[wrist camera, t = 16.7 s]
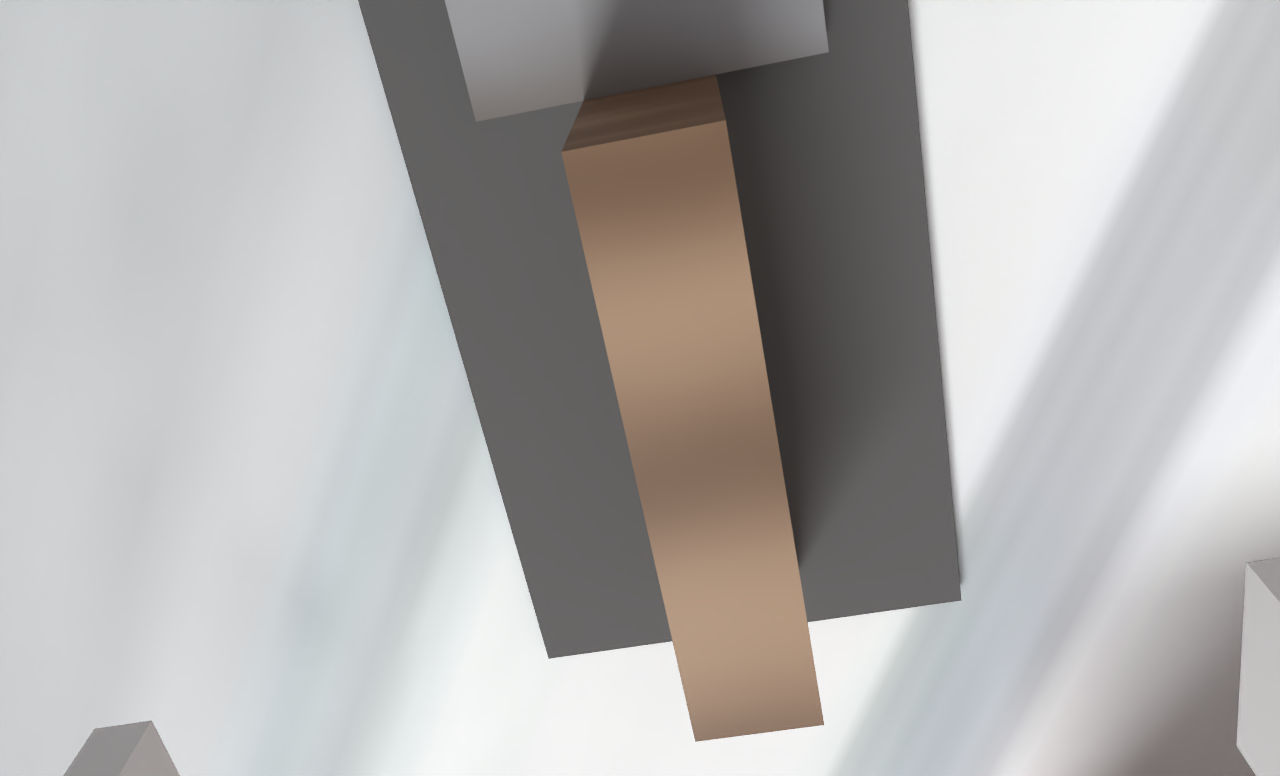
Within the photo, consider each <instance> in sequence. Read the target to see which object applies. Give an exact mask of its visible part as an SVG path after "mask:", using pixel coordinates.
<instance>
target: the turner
mask: <svg viewBox="0 0 1280 776" xmlns="http://www.w3.org/2000/svg"><path fill="white" fill-rule="evenodd" d="M445 4H446V7H447V11H448V15H449V19H450V23H451V27H452V31H453V35H454V39H455V42H456V46H457V50H458V54H459V58H460V62H461V66H462V70H463V73H464V77H465V81H466V85H467V89H468V93H469V97H470V101H471V105H472V108H473V112H474V116H475V120H476V122H478V121H483V120H488V119H493V118H498V117H503V116H508V115H513V114H518V113H523V112H528V111H533V110H538V109H543V108H549V107H554V106H559V105H564V104H569V103H574V102H579V101H583V103H582V105H581V108H580V110H579V112H578V114H577V117H576V119H575V121H574V124H573V126H572V128H571V131H570V133H569V135H568V137H567V140H566V142H565V144H564V147H563V149H562V151H561V153H562V158H563V162H564V166H565V171H566V175H567V180H568V184H569V188H570V193H571V197H572V202H573V206H574V210H575V215H576V219H577V224H578V228H579V232H580V237H581V241H582V245H583V250H584V254H585V259H586V263H587V267H588V272H589V276H590V281H591V285H592V289H593V294H594V298H595V303H596V307H597V311H598V316H599V320H600V325H601V329H602V333H603V338H604V342H605V346H606V351H607V355H608V360H609V364H610V368H611V373H612V377H613V382H614V386H615V390H616V395H617V399H618V404H619V408H620V412H621V417H622V421H623V426H624V430H625V434H626V439H627V443H628V447H629V452H630V456H631V461H632V465H633V469H634V474H635V478H636V483H637V487H638V491H639V496H640V500H641V505H642V509H643V513H644V518H645V522H646V527H647V531H648V535H649V540H650V544H651V548H652V553H653V557H654V562H655V566H656V570H657V575H658V579H659V584H660V588H661V592H662V597H663V601H664V606H665V610H666V614H667V619H668V623H669V628H670V632H671V636H672V641H673V645H674V649H675V654H676V658H677V663H678V667H679V671H680V676H681V680H682V685H683V689H684V693H685V698H686V702H687V707H688V711H689V715H690V720H691V724H692V729H693V733H694V737H695V742H696V741H703V740H711V739H719V738H726V737H734V736H742V735H750V734H757V733H765V732H773V731H780V730H788V729H796V728H803V727H811V726H819V725H824V722H823V715H822V709H821V703H820V697H819V691H818V685H817V679H816V672H815V666H814V660H813V654H812V648H811V642H810V635H809V629H808V623H807V617H806V611H805V605H804V598H803V592H802V586H801V580H800V574H799V568H798V562H797V555H796V549H795V543H794V537H793V531H792V525H791V518H790V512H789V506H788V500H787V494H786V488H785V481H784V475H783V469H782V463H781V457H780V451H779V445H778V438H777V432H776V426H775V420H774V414H773V408H772V401H771V395H770V389H769V383H768V377H767V371H766V364H765V358H764V352H763V346H762V340H761V334H760V328H759V321H758V315H757V309H756V303H755V297H754V291H753V284H752V278H751V272H750V266H749V260H748V254H747V247H746V241H745V235H744V229H743V223H742V217H741V211H740V204H739V198H738V192H737V186H736V180H735V174H734V167H733V161H732V155H731V149H730V143H729V137H728V130H727V124H726V119H725V114H724V110H723V105H722V100H721V96H720V91H719V87H718V82H717V77H716V74H721V73H726V72H731V71H736V70H741V69H746V68H751V67H756V66H761V65H766V64H771V63H776V62H782V61H787V60H792V59H797V58H802V57H807V56H812V55H817V54H822V53H827V52H829V49H828V40H827V32H826V24H825V15H824V7H823V0H445Z"/></svg>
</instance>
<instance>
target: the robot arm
mask: <svg viewBox="0 0 1280 776" xmlns="http://www.w3.org/2000/svg"><path fill="white" fill-rule="evenodd" d="M1237 747H1238V749H1239V750H1240V752H1241V753H1242V755H1243V756H1244V758H1245V760H1246V761H1247V763H1248V764H1249V766H1250V767H1251V769H1252V770H1253V772H1254V773H1255V775H1256V776H1280V558H1273V559H1266V560H1260V561H1253V562H1246V576H1245V595H1244V614H1243V633H1242V652H1241V671H1240V690H1239V709H1238V728H1237ZM64 776H180V775H179V773H178V771H177V769H176V767H175V765H174V763H173V761H172V759H171V758H170V756H169V754H168V752H167V750H166V748H165V746H164V744H163V742H162V740H161V738H160V736H159V734H158V732H157V730H156V728H155V726H154V724H153V722H152V721H146V722H139V723H132V724H125V725H118V726H111V727H104V728H97V729H94V730H93V732H92V733H91V735H90V736H89V738H88V739H87V741H86V742H85V744H84V746H83V747H82V749H81V750H80V752H79V753H78V755H77V756H76V758H75V759H74V761H73V762H72V764H71V765H70V767H69V768H68V770H67V771H66V773H65V774H64Z"/></svg>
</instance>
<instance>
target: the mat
mask: <svg viewBox="0 0 1280 776" xmlns="http://www.w3.org/2000/svg"><path fill="white" fill-rule="evenodd" d="M358 1H359V5H360V8H361V12H362V15H363V18H364V22H365V25H366V29H367V32H368V36H369V39H370V43H371V46H372V50H373V53H374V56H375V60H376V63H377V67H378V70H379V74H380V77H381V81H382V84H383V88H384V91H385V94H386V98H387V101H388V105H389V108H390V112H391V115H392V119H393V122H394V126H395V129H396V132H397V136H398V139H399V143H400V146H401V150H402V153H403V157H404V160H405V164H406V167H407V170H408V174H409V177H410V181H411V184H412V188H413V191H414V195H415V198H416V202H417V205H418V208H419V212H420V215H421V219H422V222H423V226H424V229H425V233H426V236H427V240H428V243H429V246H430V250H431V253H432V257H433V260H434V264H435V267H436V271H437V274H438V278H439V281H440V284H441V288H442V291H443V295H444V298H445V302H446V305H447V309H448V312H449V316H450V319H451V322H452V326H453V329H454V333H455V336H456V340H457V343H458V347H459V350H460V354H461V357H462V360H463V364H464V367H465V371H466V374H467V378H468V381H469V385H470V388H471V392H472V395H473V398H474V402H475V405H476V409H477V412H478V416H479V419H480V423H481V426H482V430H483V433H484V436H485V440H486V443H487V447H488V450H489V454H490V457H491V461H492V464H493V468H494V471H495V474H496V478H497V481H498V485H499V488H500V492H501V495H502V499H503V502H504V506H505V509H506V512H507V516H508V519H509V523H510V526H511V530H512V533H513V537H514V540H515V544H516V547H517V550H518V554H519V557H520V561H521V564H522V568H523V571H524V575H525V578H526V582H527V585H528V588H529V592H530V595H531V599H532V602H533V606H534V609H535V613H536V616H537V620H538V623H539V626H540V630H541V633H542V637H543V640H544V644H545V647H546V651H547V654H548V658H556V657H563V656H570V655H577V654H584V653H591V652H599V651H606V650H613V649H620V648H627V647H634V646H641V645H648V644H655V643H662V642H670V641H672V636H671V632H670V628H669V623H668V619H667V614H666V610H665V606H664V601H663V597H662V592H661V588H660V584H659V579H658V575H657V570H656V566H655V562H654V557H653V553H652V548H651V544H650V540H649V535H648V531H647V527H646V522H645V518H644V513H643V509H642V505H641V500H640V496H639V491H638V487H637V483H636V478H635V474H634V469H633V465H632V461H631V456H630V452H629V447H628V443H627V439H626V434H625V430H624V426H623V421H622V417H621V412H620V408H619V404H618V399H617V395H616V390H615V386H614V382H613V377H612V373H611V368H610V364H609V360H608V355H607V351H606V346H605V342H604V338H603V333H602V329H601V325H600V320H599V316H598V311H597V307H596V303H595V298H594V294H593V289H592V285H591V281H590V276H589V272H588V267H587V263H586V259H585V254H584V250H583V245H582V241H581V237H580V232H579V228H578V224H577V219H576V215H575V210H574V206H573V202H572V197H571V193H570V188H569V184H568V180H567V175H566V171H565V166H564V162H563V158H562V153H561V151H562V149H563V147H564V144H565V142H566V140H567V137H568V135H569V133H570V131H571V128H572V126H573V124H574V121H575V119H576V117H577V114H578V112H579V110H580V108H581V105H582V103H583V101H579V102H574V103H569V104H564V105H559V106H554V107H549V108H543V109H538V110H533V111H528V112H523V113H518V114H513V115H508V116H503V117H498V118H493V119H488V120H483V121H478V122H476V120H475V116H474V112H473V108H472V105H471V101H470V97H469V93H468V89H467V85H466V81H465V77H464V73H463V70H462V66H461V62H460V58H459V54H458V50H457V46H456V42H455V39H454V35H453V31H452V27H451V23H450V19H449V15H448V11H447V7H446V4H445V0H358ZM823 7H824V15H825V24H826V32H827V40H828V49H829V52H827V53H822V54H817V55H812V56H807V57H802V58H797V59H792V60H787V61H782V62H776V63H771V64H766V65H761V66H756V67H751V68H746V69H741V70H736V71H731V72H726V73H721V74H716V77H717V82H718V87H719V91H720V96H721V100H722V105H723V110H724V114H725V119H726V124H727V130H728V137H729V143H730V149H731V155H732V161H733V167H734V174H735V180H736V186H737V192H738V198H739V204H740V211H741V217H742V223H743V229H744V235H745V241H746V247H747V254H748V260H749V266H750V272H751V278H752V284H753V291H754V297H755V303H756V309H757V315H758V321H759V328H760V334H761V340H762V346H763V352H764V358H765V364H766V371H767V377H768V383H769V389H770V395H771V401H772V408H773V414H774V420H775V426H776V432H777V438H778V445H779V451H780V457H781V463H782V469H783V475H784V481H785V488H786V494H787V500H788V506H789V512H790V518H791V525H792V531H793V537H794V543H795V549H796V555H797V562H798V568H799V574H800V580H801V586H802V592H803V598H804V605H805V611H806V617H807V622H811V621H819V620H826V619H833V618H840V617H847V616H854V615H861V614H868V613H875V612H882V611H889V610H897V609H904V608H911V607H918V606H925V605H932V604H939V603H946V602H953V601H960V600H961V591H960V580H959V569H958V558H957V547H956V535H955V524H954V513H953V502H952V491H951V480H950V469H949V457H948V446H947V435H946V424H945V413H944V402H943V391H942V380H941V368H940V357H939V346H938V335H937V324H936V313H935V302H934V290H933V279H932V268H931V257H930V246H929V235H928V224H927V212H926V201H925V190H924V179H923V168H922V157H921V146H920V134H919V123H918V112H917V101H916V90H915V79H914V68H913V57H912V45H911V34H910V23H909V12H908V1H907V0H823Z"/></svg>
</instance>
